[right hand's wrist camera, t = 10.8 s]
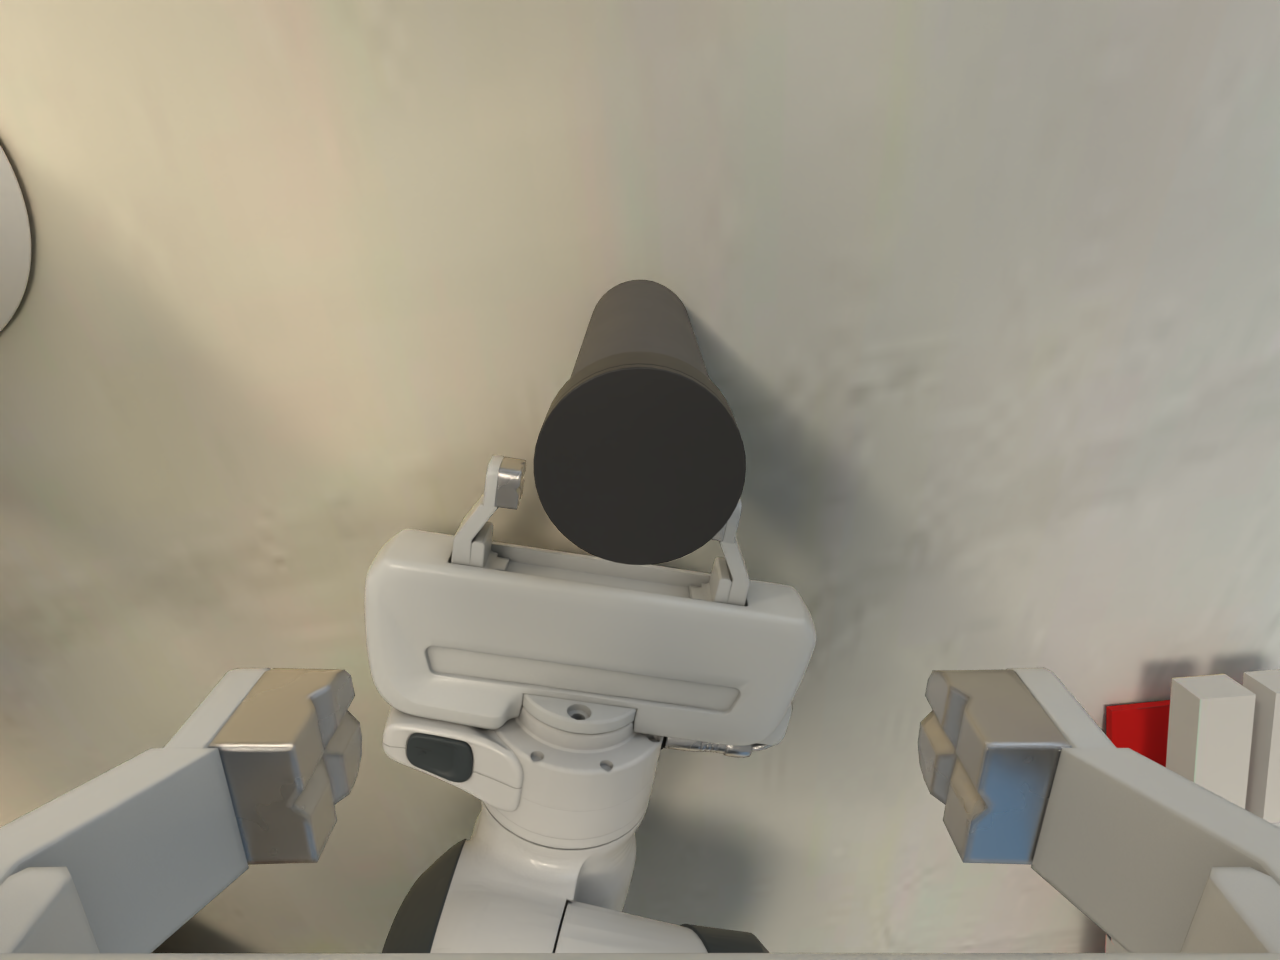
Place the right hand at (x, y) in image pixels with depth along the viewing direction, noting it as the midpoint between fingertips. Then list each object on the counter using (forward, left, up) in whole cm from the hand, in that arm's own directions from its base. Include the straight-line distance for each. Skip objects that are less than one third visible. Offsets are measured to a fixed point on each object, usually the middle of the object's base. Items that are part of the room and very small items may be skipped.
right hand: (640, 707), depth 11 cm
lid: (0, 0, -10) cm, 10 cm away
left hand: (0, -5, -22) cm, 23 cm away
